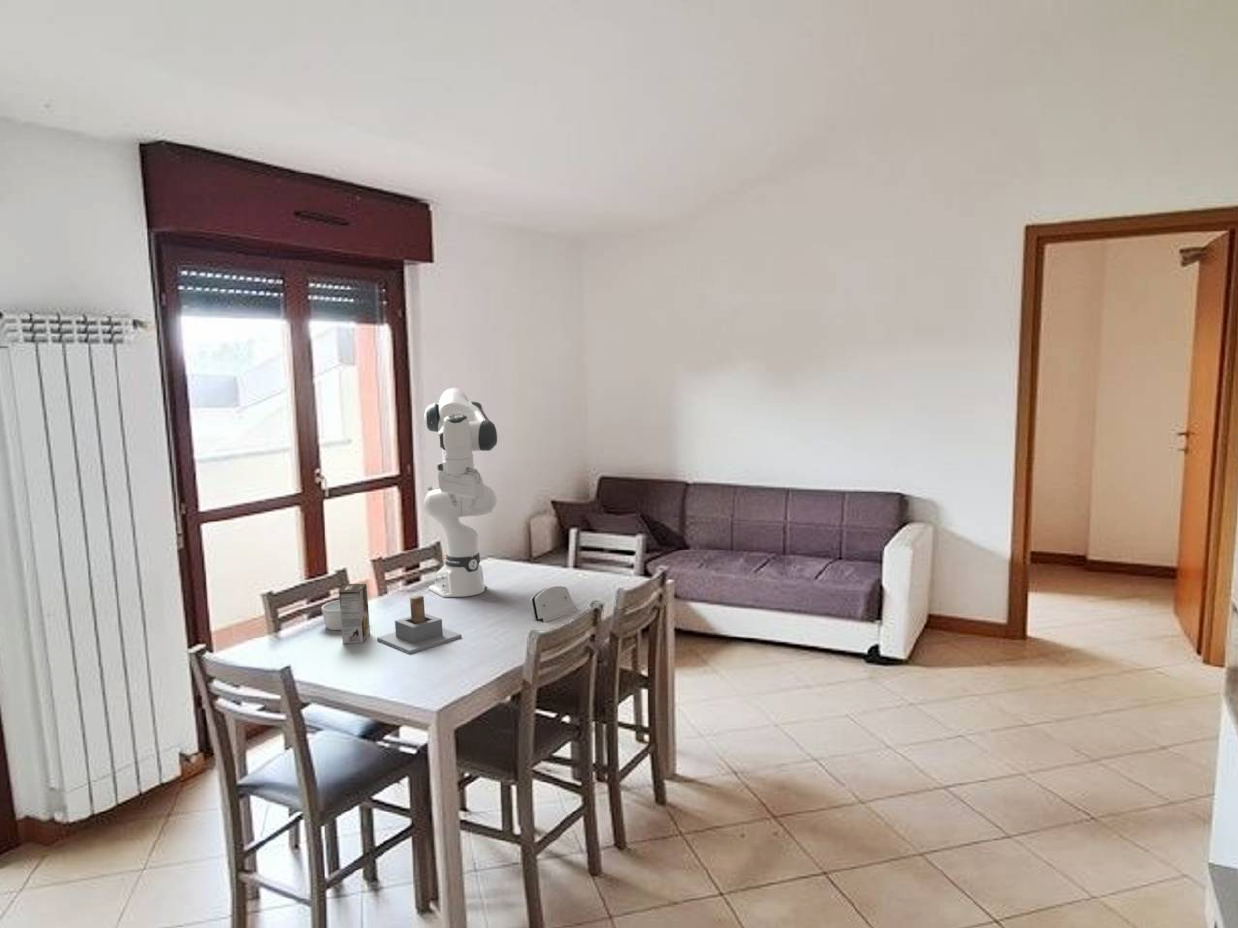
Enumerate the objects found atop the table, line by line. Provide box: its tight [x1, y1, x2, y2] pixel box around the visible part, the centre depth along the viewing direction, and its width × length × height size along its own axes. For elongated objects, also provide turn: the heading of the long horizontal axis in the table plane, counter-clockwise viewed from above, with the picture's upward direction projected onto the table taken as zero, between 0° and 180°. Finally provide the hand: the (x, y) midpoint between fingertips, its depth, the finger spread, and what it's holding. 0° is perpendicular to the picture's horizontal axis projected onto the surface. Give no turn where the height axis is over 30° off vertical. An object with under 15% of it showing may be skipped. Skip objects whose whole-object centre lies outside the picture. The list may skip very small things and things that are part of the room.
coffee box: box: [338, 583, 371, 645], centre depth 240 cm, size 9×6×16 cm
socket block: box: [376, 613, 463, 654], centre depth 239 cm, size 18×18×6 cm
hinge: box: [529, 586, 578, 623], centre depth 260 cm, size 17×5×10 cm, turn 143°
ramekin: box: [321, 599, 342, 631], centre depth 254 cm, size 13×13×7 cm
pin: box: [409, 595, 426, 624], centre depth 238 cm, size 4×4×12 cm
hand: (463, 508), depth 252 cm, fingers open, 8 cm apart
